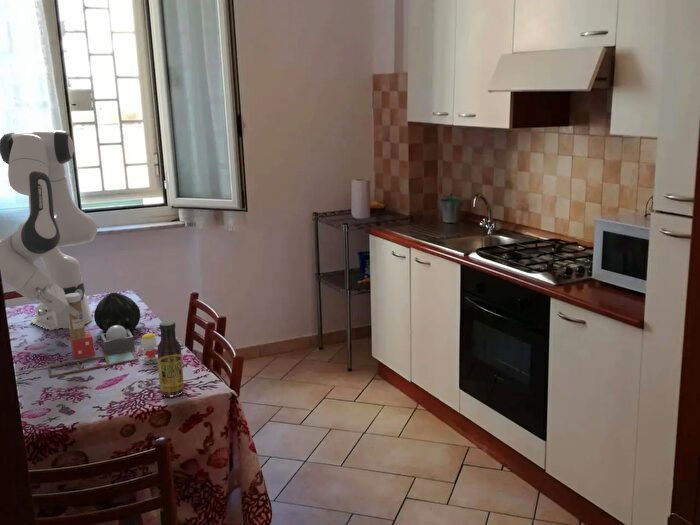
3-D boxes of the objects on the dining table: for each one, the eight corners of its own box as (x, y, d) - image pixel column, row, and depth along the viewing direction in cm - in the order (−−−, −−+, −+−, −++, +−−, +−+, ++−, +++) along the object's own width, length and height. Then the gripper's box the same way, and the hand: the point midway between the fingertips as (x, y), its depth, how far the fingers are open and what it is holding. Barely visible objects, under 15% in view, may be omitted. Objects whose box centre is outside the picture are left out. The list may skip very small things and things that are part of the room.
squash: (130, 304, 253) (101, 281, 242) (155, 313, 244) (127, 289, 233) (106, 338, 247) (76, 315, 237) (131, 347, 238) (101, 324, 228)
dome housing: (106, 354, 220) (104, 342, 219) (102, 345, 228) (100, 334, 227) (134, 348, 224) (133, 336, 223) (129, 340, 231) (128, 329, 231)
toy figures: (177, 352, 219) (175, 327, 217) (180, 357, 215) (177, 331, 213) (138, 359, 215) (134, 333, 213) (139, 364, 211) (136, 337, 209)
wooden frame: (49, 377, 203) (49, 376, 203) (47, 367, 211) (47, 366, 211) (138, 360, 214) (138, 358, 214) (133, 351, 221) (132, 349, 221)
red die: (74, 358, 217) (72, 340, 216) (72, 352, 223) (69, 334, 221) (95, 354, 220) (92, 336, 218) (92, 349, 225) (90, 331, 224)
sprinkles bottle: (82, 340, 207) (76, 296, 203) (67, 340, 207) (60, 296, 204) (88, 335, 211) (82, 292, 208) (74, 335, 211) (67, 292, 208)
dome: (103, 346, 224) (100, 327, 223) (118, 340, 230) (115, 321, 228) (117, 349, 221) (115, 330, 220) (132, 342, 227) (130, 323, 225)
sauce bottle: (162, 400, 184) (154, 328, 180) (158, 391, 190) (150, 321, 185) (187, 395, 187) (180, 324, 182) (183, 386, 193) (175, 317, 188)
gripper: (45, 284, 192) (87, 312, 199) (41, 268, 210) (80, 294, 217) (29, 302, 191) (73, 330, 198) (27, 285, 209) (66, 311, 216)
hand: (76, 311), depth 207 cm, fingers closed on sprinkles bottle, 4 cm apart
